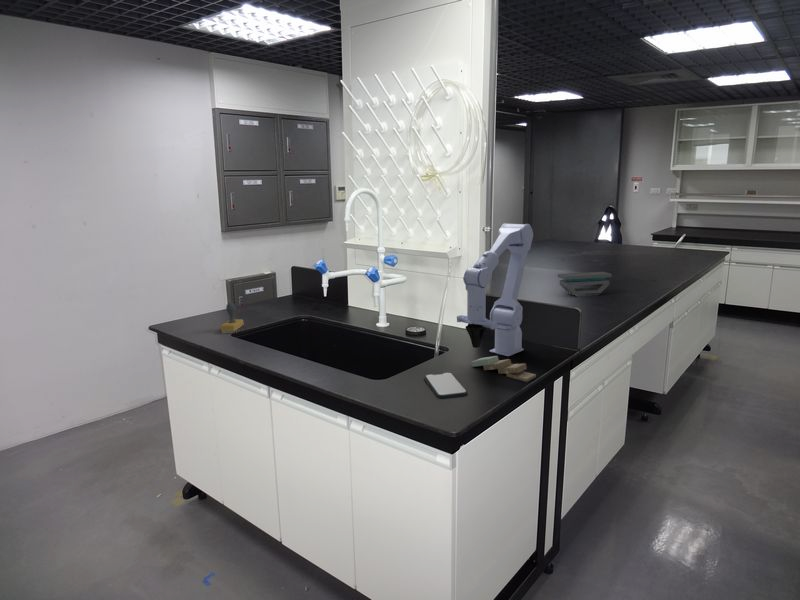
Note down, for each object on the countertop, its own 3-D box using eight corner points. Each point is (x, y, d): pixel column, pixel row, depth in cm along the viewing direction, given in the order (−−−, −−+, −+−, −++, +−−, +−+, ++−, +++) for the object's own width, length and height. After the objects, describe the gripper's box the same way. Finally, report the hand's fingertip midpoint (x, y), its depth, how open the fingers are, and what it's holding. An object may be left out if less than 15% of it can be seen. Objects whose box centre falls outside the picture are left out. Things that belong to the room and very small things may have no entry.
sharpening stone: (602, 292, 273) (603, 271, 271) (610, 295, 266) (611, 274, 263) (557, 294, 270) (557, 273, 268) (563, 297, 263) (564, 276, 260)
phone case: (469, 397, 144) (451, 376, 160) (469, 392, 144) (451, 371, 159) (438, 401, 143) (423, 379, 158) (438, 395, 142) (423, 374, 157)
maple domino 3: (506, 373, 158) (527, 379, 153) (515, 369, 161) (536, 374, 156) (506, 378, 158) (526, 384, 153) (515, 374, 161) (535, 379, 156)
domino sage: (471, 362, 167) (487, 359, 161) (480, 358, 170) (497, 355, 165) (472, 366, 167) (489, 364, 161) (482, 362, 170) (498, 360, 165)
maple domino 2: (497, 368, 160) (516, 367, 155) (506, 364, 163) (525, 363, 158) (498, 373, 160) (518, 372, 155) (507, 369, 163) (526, 368, 159)
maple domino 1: (483, 365, 163) (501, 363, 158) (492, 361, 167) (510, 359, 162) (484, 370, 163) (502, 368, 158) (493, 366, 167) (511, 364, 162)
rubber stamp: (234, 334, 213) (232, 305, 210) (221, 334, 213) (218, 305, 211) (244, 327, 223) (241, 300, 220) (231, 327, 223) (228, 300, 221)
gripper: (450, 304, 167) (450, 345, 170) (487, 311, 157) (487, 354, 160) (464, 300, 172) (464, 340, 175) (501, 307, 162) (500, 349, 165)
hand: (476, 346), depth 168 cm, fingers closed
